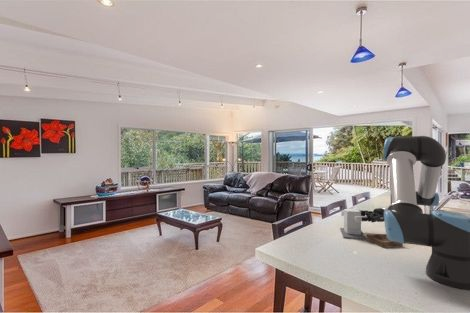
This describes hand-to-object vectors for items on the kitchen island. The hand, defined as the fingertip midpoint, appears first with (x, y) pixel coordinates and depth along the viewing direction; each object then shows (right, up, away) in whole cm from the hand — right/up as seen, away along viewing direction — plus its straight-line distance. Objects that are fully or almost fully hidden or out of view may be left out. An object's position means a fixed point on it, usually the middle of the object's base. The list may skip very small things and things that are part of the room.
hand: (348, 216), depth 143 cm
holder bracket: (+12, -10, -14) cm, 21 cm away
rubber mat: (+2, -10, 0) cm, 10 cm away
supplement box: (+2, -10, 0) cm, 10 cm away
